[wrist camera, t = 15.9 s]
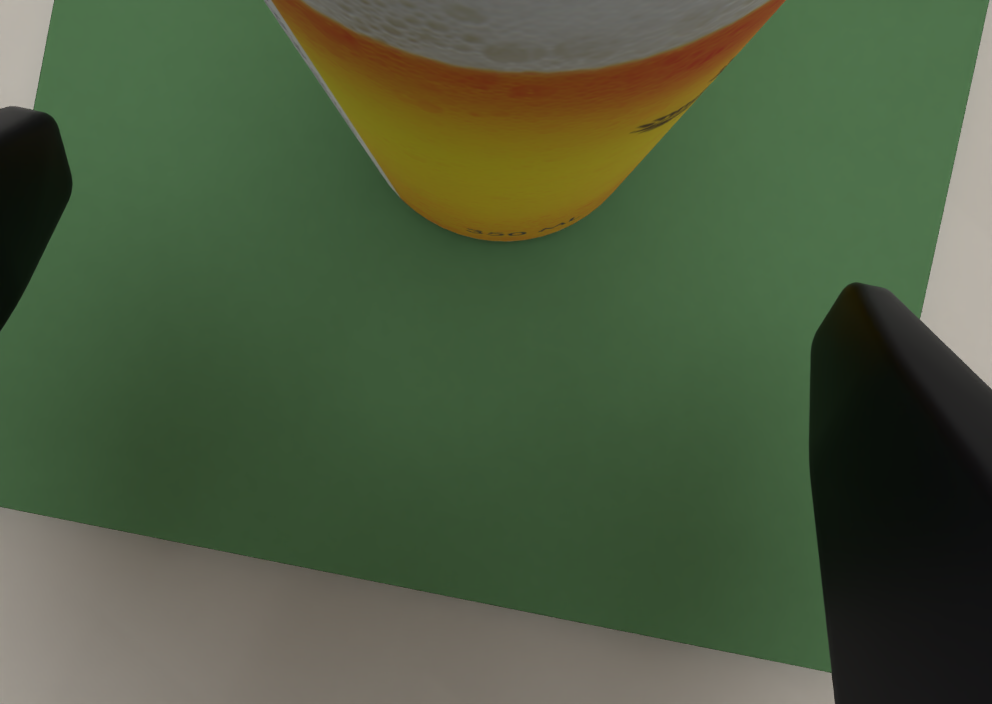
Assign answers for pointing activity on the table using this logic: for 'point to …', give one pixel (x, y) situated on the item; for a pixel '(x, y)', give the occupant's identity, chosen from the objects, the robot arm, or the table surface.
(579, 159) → the beer can
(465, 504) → the green cloth
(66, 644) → the table surface
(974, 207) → the table surface
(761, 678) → the table surface
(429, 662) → the table surface
